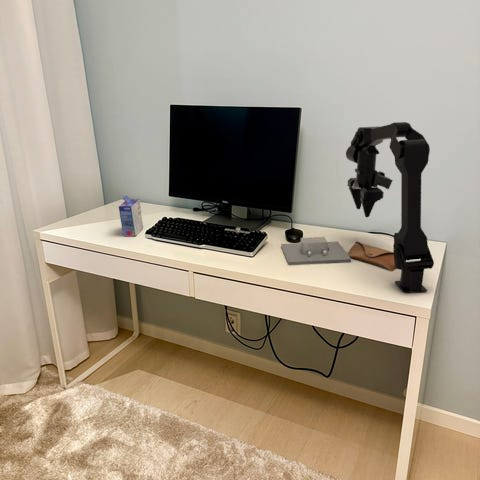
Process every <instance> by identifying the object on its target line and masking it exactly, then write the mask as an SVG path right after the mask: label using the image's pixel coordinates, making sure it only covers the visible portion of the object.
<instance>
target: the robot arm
mask: <svg viewBox="0 0 480 480" xmlns="http://www.w3.org/2000/svg"><path fill="white" fill-rule="evenodd" d="M397 138H405V139H402V140H398V139H397ZM385 140H390V142H389V149H390V151H391V153H392V155H393V157H394V165H395V166H396V169H398V171H399V173H400V174H401V175H400V176H401V177H400V178H401V181H400V182H401V185H400V186H401V191H400V192H401V197H400V198H401V201H400V202H401V204H400V205H401V207H400V208H401V209H400V210H401V213H400V214H401V215H400V216H401V218H400V220H401V222H400V224H401V226H400V229H399V230H398V232H395V233H394V235H393V248H392V249H393V251H392V252H394V263H395V266H396V269H395V270H399V271H400V278H399V280H395V282H394V283H395V285H396V286H397V287H398V288H399V289H400V290H401V291H402V292H403V294H404V293H407V294H409V293H426V292H427V291H428V289H427V288H426V287H425V286H424V285H423V281H424V275H425V270H427V269H429V270H431V269H433V267H434V265H435V261H434V258H433V256H432V253H431V249H430V248H429V246H428V237H427V235H426V234H425V232H424V230H423V229H422V175H423V171H424V170H425V169H426V167H427V165H428V164H429V157H430V150H431V149H430V144H429V143H428V141H427V140H426V138H425V137H424V135H423V134H422V133H420V132H419V131H417V130H415V129H414V128H413V126H412V125H411V123H409V122H406V121H398V122H392V123H390V124H386V125H382V126H381V125H380V126H360V127H358V128H357V130H356V131H355V134H354V135H353V138H352V139H351V142H350V145H349V146H348V147H347V148H346V151H345V157H346V159H347V160H348V161H350V162H352V163H355V164H356V168H354V172H355V173H356V174H355V175H356V177H350V178H349V179H347V187H348V190H349V191H350V195H351V197H352V200H353V202H354V205H355V208H356V210H360V209H361V207H362V209H363V210H362V211H363V214H364V217H365V218H369V217H370V215H371V213H372V210H373V208H374V207H375V204H376V203H377V202H378V201H381V199H384V193H385V192H384V191H383V190H382V189H381V188H380V187H383V188H385V189H387V190H389V189H390V187H391V186H392V183H393V181H394V180H393V179H391V178H390V177H388V176H386V173H385V172H383V171H381V170H379V171H378V170H376V165H377V164H376V163H377V155H379V154H380V151H379V150H378V149H377V147H376V146H377V145H380V144H382V143H384V141H385ZM378 186H379V187H378Z"/></svg>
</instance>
